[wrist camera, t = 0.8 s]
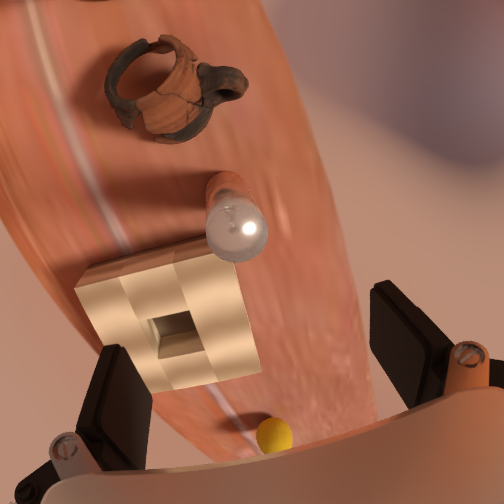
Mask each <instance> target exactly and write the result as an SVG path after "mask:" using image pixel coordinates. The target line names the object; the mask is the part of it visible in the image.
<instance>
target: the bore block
mask: <svg viewBox="0 0 504 504" xmlns="http://www.w3.org/2000/svg"><path fill="white" fill-rule="evenodd" d="M74 290H75V292H76V294H77V296H78V298H79V300H80V302H81V304H82V306H83V308H84V310H85V312H86V314H87V316H88V318H89V319H90V321H91V323H92V325H93V327H94V329H95V330H96V332H97V334H98V336H99V338H100V339H101V341H102V343H103V345H104V346H105V345H111V344H119V345H120V346H121V347H122V346H123V347H125V349H126V350H127V352H128V354H129V356H130V358H131V360H132V361H133V363H134V365H135V367H136V369H137V371H138V372H139V374H140V376H141V378H142V379H143V381H144V383H145V385H146V386H147V388H148V390H149V391H150V393H157V392H163V391H170V390H176V389H182V388H187V387H193V386H198V385H204V384H209V383H214V382H219V381H224V380H228V379H233V378H238V377H242V376H246V375H251V374H255V373H259V372H262V370H261V365H260V361H259V357H258V352H257V348H256V344H255V340H254V337H253V333H252V329H251V325H250V322H249V318H248V314H247V311H246V307H245V303H244V299H243V296H242V292H241V288H240V284H239V280H238V277H237V273H236V269H235V265H234V262H228V261H224V260H222V259H220V258H219V257H217V256H216V255H215V254H214V253H213V252H212V251H211V249H210V248H209V246H208V243H207V239H206V235H203V236H199V237H195V238H191V239H187V240H183V241H180V242H176V243H172V244H168V245H164V246H160V247H157V248H153V249H149V250H145V251H141V252H138V253H134V254H130V255H126V256H123V257H119V258H115V259H112V260H108V261H104V262H101V263H97V264H94V265H90V266H88V267H87V269H86V270H85V272H84V273H83V275H82V276H81V278H80V280H79V281H78V283H77V284H76V286H75V287H74Z"/></svg>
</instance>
